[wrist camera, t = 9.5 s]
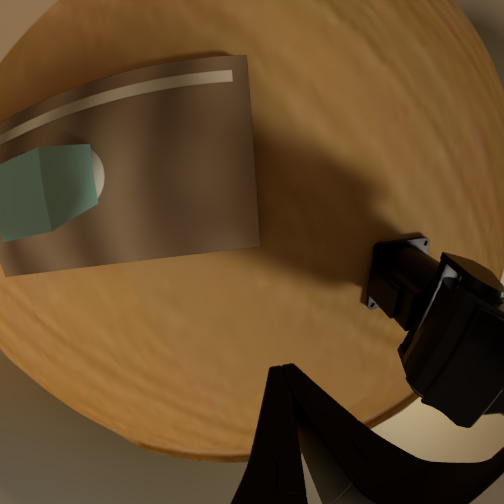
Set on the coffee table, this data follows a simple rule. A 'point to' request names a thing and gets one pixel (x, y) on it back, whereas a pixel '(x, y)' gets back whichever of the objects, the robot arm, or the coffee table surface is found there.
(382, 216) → the coffee table surface
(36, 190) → the sage green box
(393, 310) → the robot arm
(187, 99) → the board
